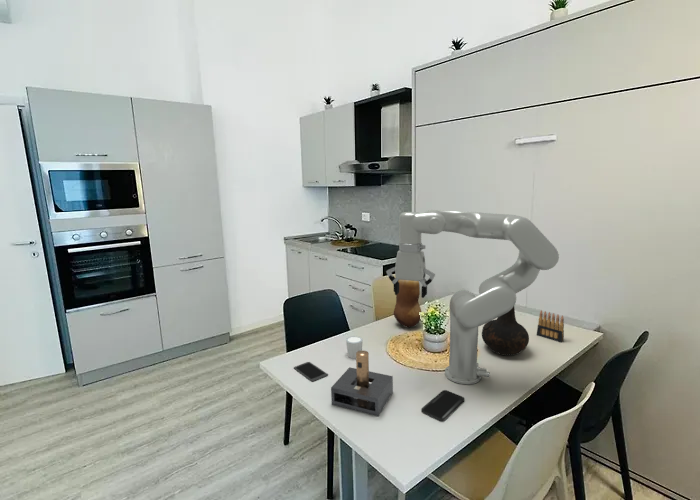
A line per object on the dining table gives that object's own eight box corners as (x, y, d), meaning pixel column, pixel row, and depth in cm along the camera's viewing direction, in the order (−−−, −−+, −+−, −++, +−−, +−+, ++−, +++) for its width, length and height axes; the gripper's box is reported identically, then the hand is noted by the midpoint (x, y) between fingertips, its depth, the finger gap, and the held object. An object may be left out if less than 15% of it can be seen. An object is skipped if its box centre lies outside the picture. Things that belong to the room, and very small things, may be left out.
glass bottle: (478, 340, 161) (480, 279, 156) (521, 342, 158) (525, 280, 153) (484, 359, 144) (487, 291, 139) (533, 362, 140) (538, 292, 136)
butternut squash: (426, 324, 180) (427, 275, 176) (412, 333, 170) (412, 281, 166) (403, 318, 189) (403, 271, 185) (388, 326, 179) (387, 277, 175)
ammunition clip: (536, 335, 165) (538, 310, 163) (538, 334, 166) (540, 309, 164) (561, 342, 157) (563, 316, 154) (563, 341, 158) (565, 315, 156)
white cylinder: (361, 359, 146) (361, 343, 145) (344, 358, 148) (344, 342, 146) (364, 352, 153) (363, 336, 151) (348, 351, 154) (347, 335, 153)
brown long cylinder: (360, 393, 122) (359, 349, 120) (371, 396, 121) (370, 351, 118) (354, 401, 118) (353, 355, 116) (366, 404, 117) (365, 357, 114)
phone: (465, 398, 117) (442, 420, 107) (465, 401, 118) (442, 423, 107) (443, 389, 123) (419, 409, 112) (443, 392, 123) (419, 412, 112)
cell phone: (312, 383, 130) (312, 381, 130) (292, 368, 141) (292, 367, 141) (329, 376, 135) (328, 374, 135) (308, 362, 146) (308, 361, 145)
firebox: (392, 392, 123) (392, 375, 122) (378, 416, 110) (378, 398, 109) (349, 382, 129) (349, 366, 128) (331, 404, 117) (331, 387, 116)
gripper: (437, 247, 126) (436, 294, 129) (389, 245, 133) (390, 290, 136) (432, 251, 119) (432, 301, 122) (383, 248, 126) (383, 295, 129)
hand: (410, 295), depth 129 cm, fingers open, 9 cm apart
